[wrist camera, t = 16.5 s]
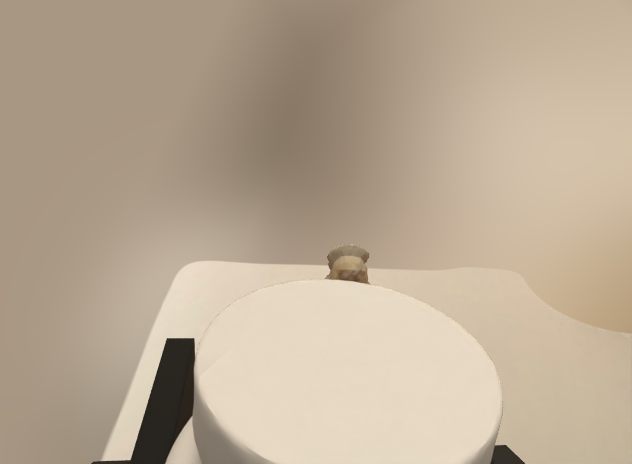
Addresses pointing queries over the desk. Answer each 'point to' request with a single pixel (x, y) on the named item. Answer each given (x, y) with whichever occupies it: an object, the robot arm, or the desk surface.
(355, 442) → the pill bottle
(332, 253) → the figurine
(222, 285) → the desk surface
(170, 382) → the robot arm
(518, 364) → the desk surface
